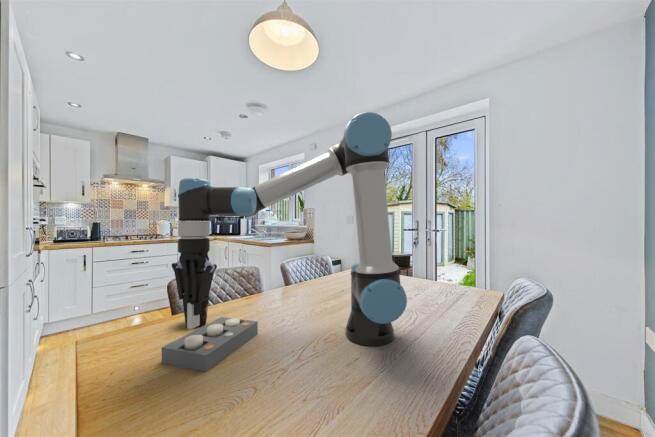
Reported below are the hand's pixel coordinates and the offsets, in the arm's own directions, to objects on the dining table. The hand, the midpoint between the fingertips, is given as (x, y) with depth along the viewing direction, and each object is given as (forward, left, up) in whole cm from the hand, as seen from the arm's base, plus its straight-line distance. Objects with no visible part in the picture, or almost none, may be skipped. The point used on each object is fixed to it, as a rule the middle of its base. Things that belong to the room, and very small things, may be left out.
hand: (193, 326), depth 71 cm
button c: (0, 0, -5) cm, 5 cm away
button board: (0, -8, -9) cm, 12 cm away
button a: (0, -16, -6) cm, 17 cm away
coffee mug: (+18, -21, -9) cm, 29 cm away
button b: (0, -8, -5) cm, 10 cm away
